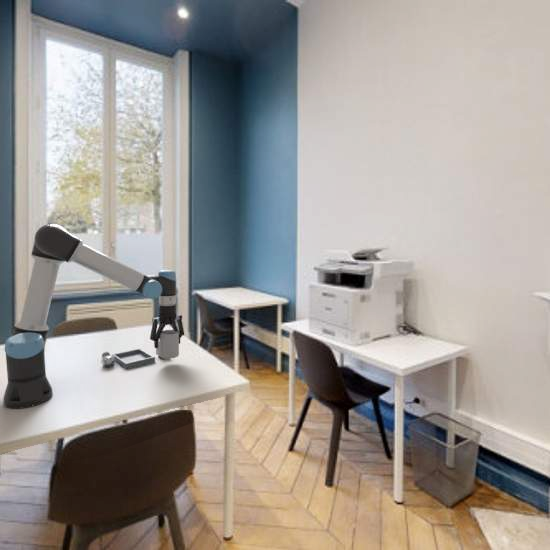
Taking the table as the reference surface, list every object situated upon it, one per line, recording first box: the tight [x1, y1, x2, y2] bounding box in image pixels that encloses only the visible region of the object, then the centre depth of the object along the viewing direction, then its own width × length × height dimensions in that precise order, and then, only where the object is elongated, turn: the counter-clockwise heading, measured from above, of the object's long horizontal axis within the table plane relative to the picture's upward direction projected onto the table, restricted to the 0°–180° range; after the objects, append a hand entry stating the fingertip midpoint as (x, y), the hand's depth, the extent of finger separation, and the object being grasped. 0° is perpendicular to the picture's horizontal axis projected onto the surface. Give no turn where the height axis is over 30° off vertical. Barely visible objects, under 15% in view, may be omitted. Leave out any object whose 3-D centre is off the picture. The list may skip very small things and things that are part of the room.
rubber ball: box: [101, 351, 111, 358], centre depth 185 cm, size 4×4×4 cm
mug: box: [159, 329, 180, 360], centre depth 179 cm, size 12×8×11 cm
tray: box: [111, 348, 156, 370], centre depth 183 cm, size 14×17×2 cm
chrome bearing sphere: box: [101, 354, 115, 369], centre depth 177 cm, size 5×5×4 cm
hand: (167, 352), depth 180 cm, fingers closed on mug, 8 cm apart
